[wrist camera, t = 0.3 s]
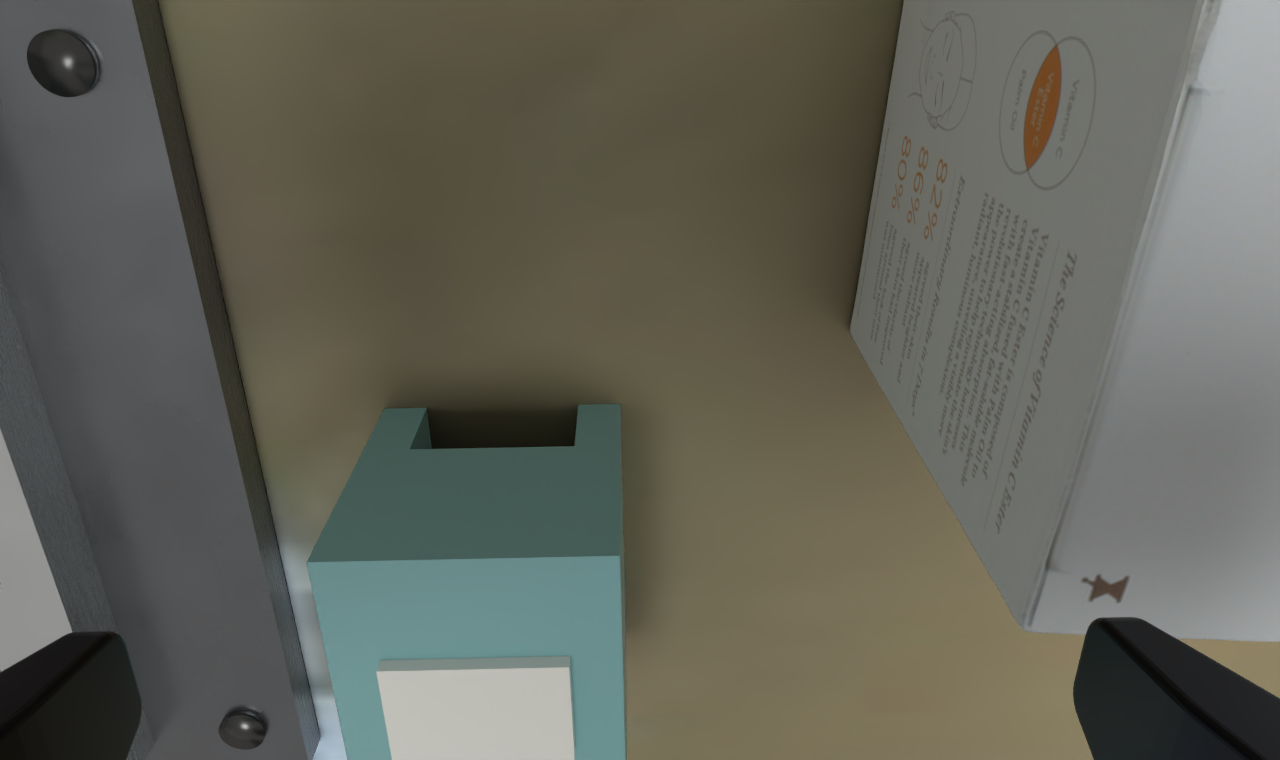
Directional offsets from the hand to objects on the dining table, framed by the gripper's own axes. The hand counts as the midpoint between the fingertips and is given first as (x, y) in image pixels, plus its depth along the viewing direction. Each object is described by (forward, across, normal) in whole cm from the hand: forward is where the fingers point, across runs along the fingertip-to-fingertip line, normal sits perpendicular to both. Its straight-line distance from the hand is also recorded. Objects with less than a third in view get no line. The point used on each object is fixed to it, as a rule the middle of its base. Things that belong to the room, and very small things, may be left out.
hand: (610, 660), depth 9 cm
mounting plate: (+13, +14, +4) cm, 19 cm away
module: (+13, +3, +7) cm, 15 cm away
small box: (+13, -8, -2) cm, 16 cm away
